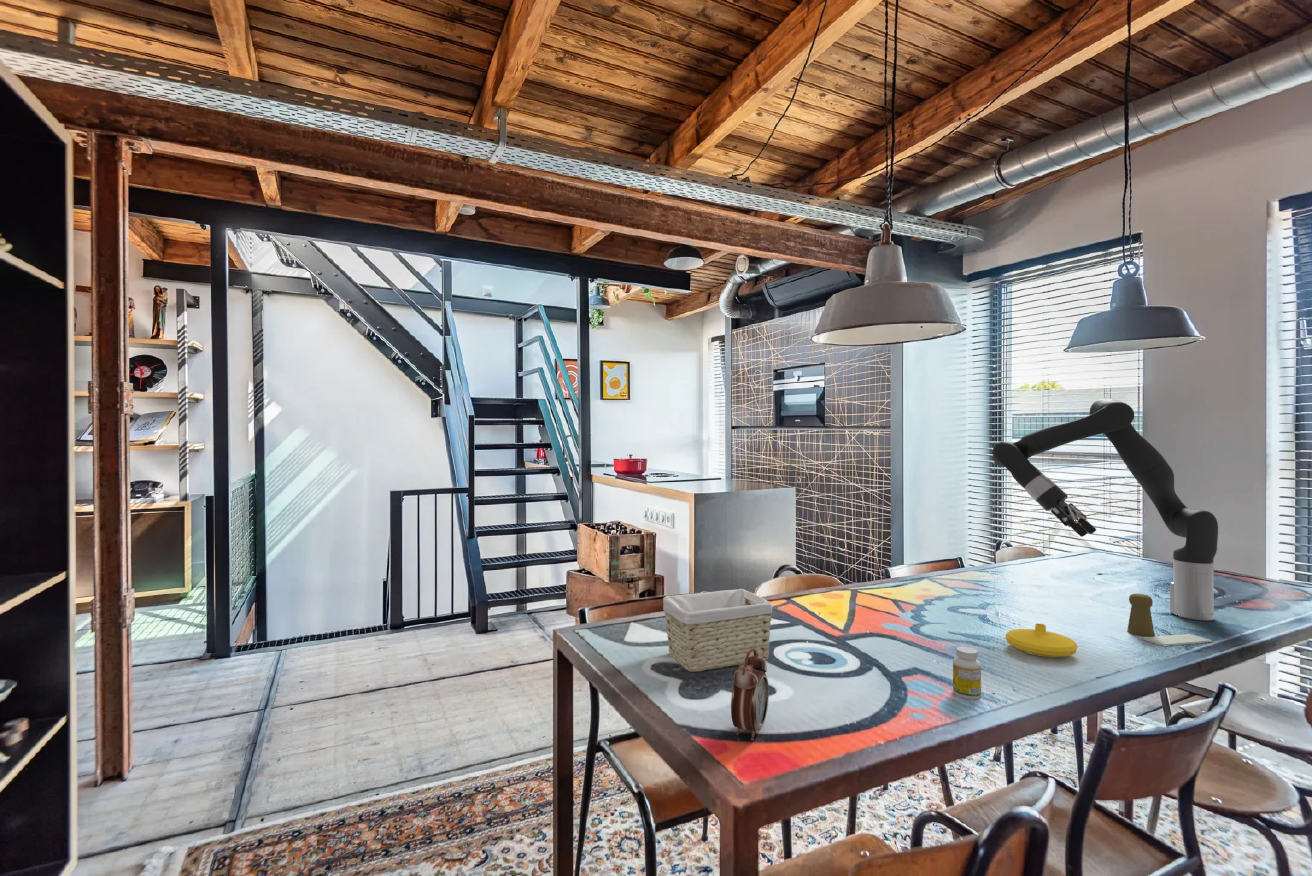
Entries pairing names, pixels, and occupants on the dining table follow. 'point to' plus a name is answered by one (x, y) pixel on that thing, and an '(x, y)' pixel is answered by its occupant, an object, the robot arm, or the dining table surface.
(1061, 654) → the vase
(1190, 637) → the pad
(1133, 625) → the cork
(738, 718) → the alarm clock
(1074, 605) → the dining table surface
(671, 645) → the storage basket
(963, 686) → the supplement bottle
